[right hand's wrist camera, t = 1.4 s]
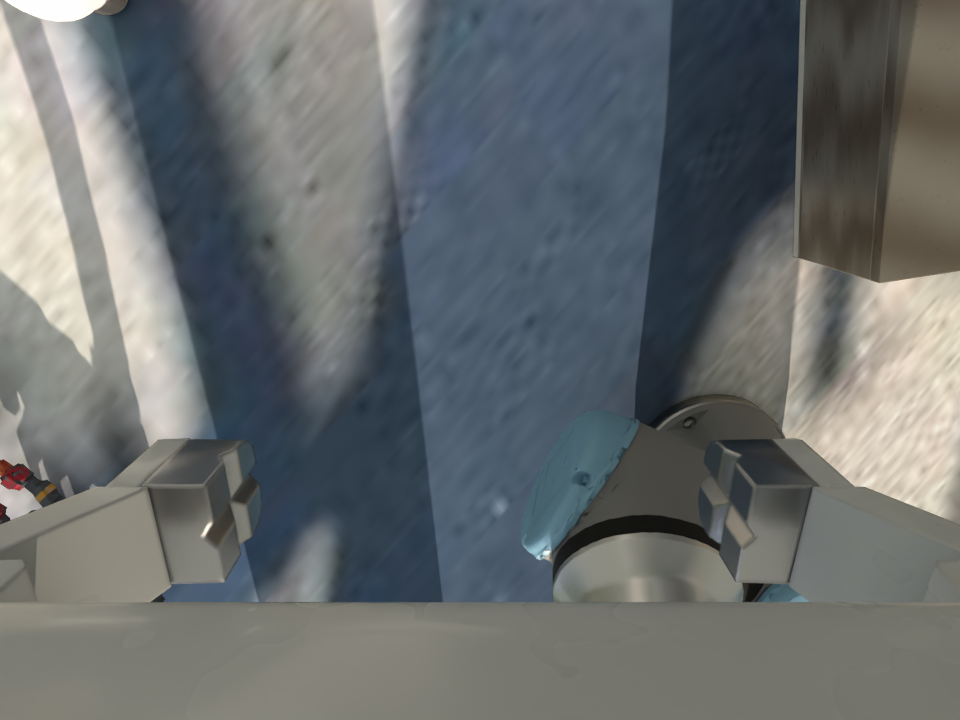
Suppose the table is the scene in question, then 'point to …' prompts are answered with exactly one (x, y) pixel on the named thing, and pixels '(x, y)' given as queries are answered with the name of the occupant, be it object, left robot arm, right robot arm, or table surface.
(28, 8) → the light bulb
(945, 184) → the cabinet
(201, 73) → the table surface
